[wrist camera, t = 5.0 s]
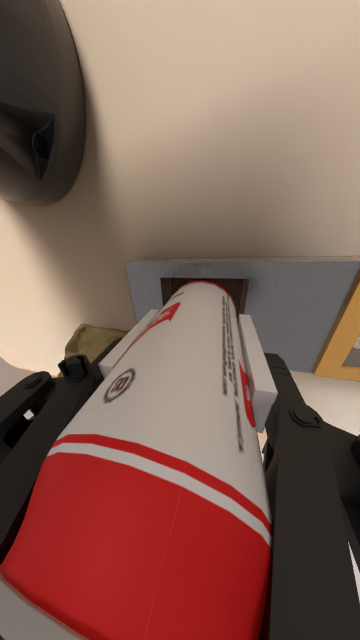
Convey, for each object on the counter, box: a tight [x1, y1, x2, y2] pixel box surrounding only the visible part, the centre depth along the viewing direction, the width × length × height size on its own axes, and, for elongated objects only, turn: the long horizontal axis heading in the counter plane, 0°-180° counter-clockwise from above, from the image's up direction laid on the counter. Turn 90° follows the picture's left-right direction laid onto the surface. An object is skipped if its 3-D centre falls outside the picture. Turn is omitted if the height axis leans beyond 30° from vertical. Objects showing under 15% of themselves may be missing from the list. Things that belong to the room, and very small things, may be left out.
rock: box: [58, 324, 129, 377], centre depth 20 cm, size 11×9×10 cm
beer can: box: [0, 279, 272, 640], centre depth 10 cm, size 6×6×16 cm
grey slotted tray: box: [125, 256, 360, 381], centre depth 14 cm, size 30×10×3 cm, turn 92°
